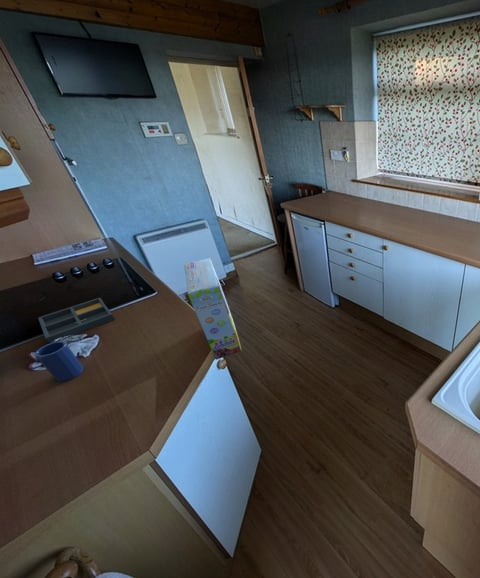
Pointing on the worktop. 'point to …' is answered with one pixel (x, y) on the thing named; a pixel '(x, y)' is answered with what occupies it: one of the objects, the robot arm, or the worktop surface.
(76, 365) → the cup
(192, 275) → the snack box
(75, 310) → the grey divided tray
